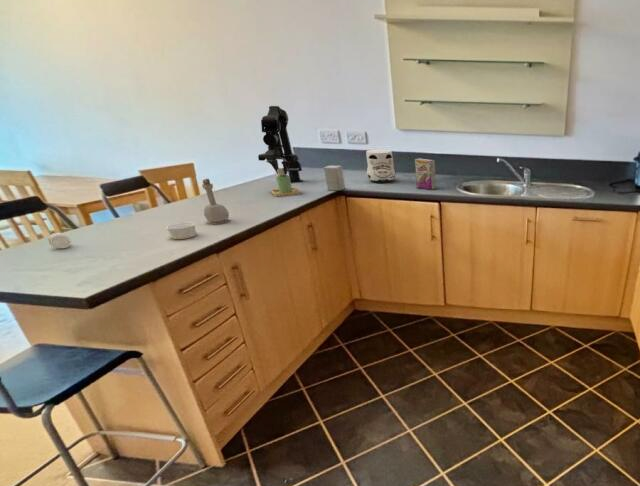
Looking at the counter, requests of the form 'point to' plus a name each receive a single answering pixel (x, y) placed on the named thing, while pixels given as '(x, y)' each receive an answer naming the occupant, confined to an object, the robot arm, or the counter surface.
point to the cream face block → (380, 166)
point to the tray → (277, 193)
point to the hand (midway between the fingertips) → (282, 174)
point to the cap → (280, 171)
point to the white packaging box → (334, 177)
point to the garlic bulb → (59, 240)
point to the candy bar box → (425, 174)
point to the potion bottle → (214, 206)
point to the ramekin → (182, 230)
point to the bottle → (284, 184)
